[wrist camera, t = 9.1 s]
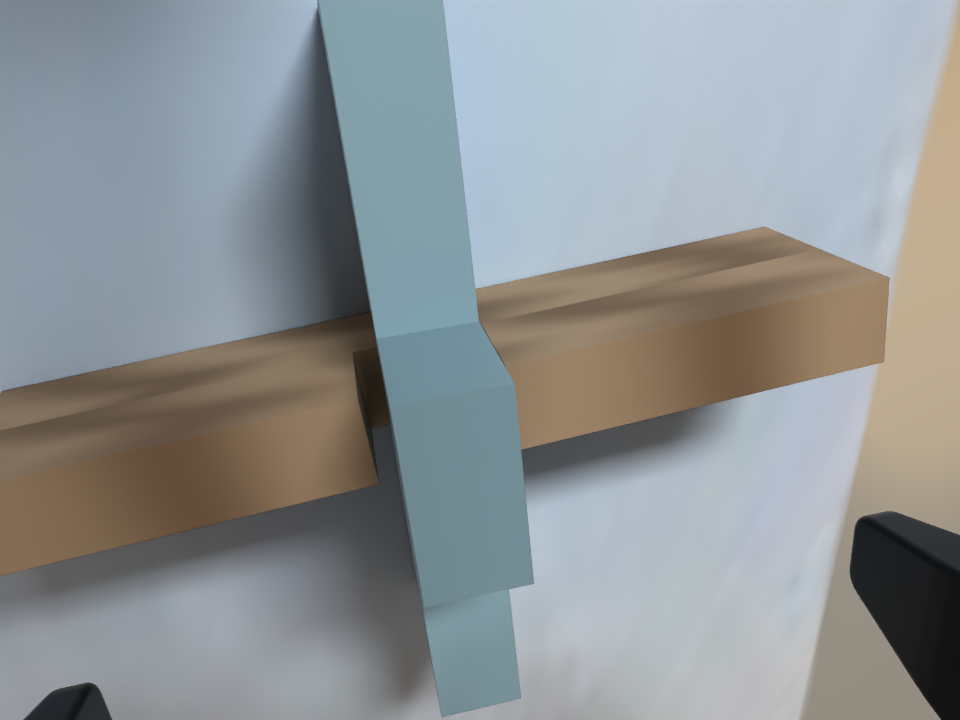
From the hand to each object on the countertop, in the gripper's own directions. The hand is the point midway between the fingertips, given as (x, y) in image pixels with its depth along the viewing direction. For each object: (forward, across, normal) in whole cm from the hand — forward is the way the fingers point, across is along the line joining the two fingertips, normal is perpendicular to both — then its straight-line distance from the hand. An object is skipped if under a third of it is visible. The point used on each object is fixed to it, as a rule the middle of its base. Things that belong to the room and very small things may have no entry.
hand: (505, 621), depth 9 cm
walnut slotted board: (+12, 0, +1) cm, 12 cm away
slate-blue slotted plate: (+12, 0, +1) cm, 12 cm away
